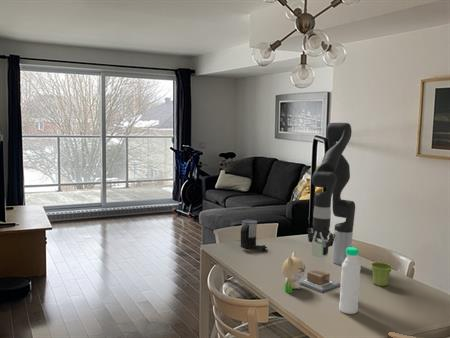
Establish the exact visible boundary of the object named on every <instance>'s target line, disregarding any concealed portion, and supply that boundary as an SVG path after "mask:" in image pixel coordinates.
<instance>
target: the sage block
mask: <svg viewBox="0 0 450 338" xmlns="http://www.w3.org/2000/svg"><path fill="white" fill-rule="evenodd" d="M323 247H324V246H323V242H322V240H318V241H315V242H312V243H311V256H314V257H316V258H319V259H320V258H321V259H322V258H325V257H328V255H329V253H328V254H327V255H325V256H324V255H323Z"/></svg>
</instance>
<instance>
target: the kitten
mask: <svg viewBox="0 0 450 338" xmlns="http://www.w3.org/2000/svg"><path fill="white" fill-rule="evenodd" d="M281 271H282V275H283V277H285V282H284V283H285V285H284V292H285V293H286V294H292V293H293V290H295V289H297V290H300V289H301V286H302V285H300V282H299V279H302V278H304V275H305V273H306V265H305V264H304V262H303V260H302V259H301V258H299V257H296V251H293V252H292V254H291V255H290V256H289V257H288V258H286V259H285V260H284V261H283V264H282V266H281Z"/></svg>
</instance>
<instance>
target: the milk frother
mask: <svg viewBox="0 0 450 338" xmlns="http://www.w3.org/2000/svg"><path fill="white" fill-rule="evenodd" d="M241 222H242V223H241V228H240V247H241V248H245V249H253V248H257V249H261V250H262V251H265V250H266V249H268V246H266V244H265V245H264V244H262V245H257V229H258V228H257V226H258V224H257V223H258V221H257V220H254V219H244V220H241Z"/></svg>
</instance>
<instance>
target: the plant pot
mask: <svg viewBox="0 0 450 338" xmlns="http://www.w3.org/2000/svg"><path fill="white" fill-rule="evenodd" d="M370 266H371V271H372V283H373V284H375V285H376V286H380V287H384V286H388V283H389V278H390V273H391V271H392V270H393V266H392V265H391V264H388V263H384V262H371V263H370Z"/></svg>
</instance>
